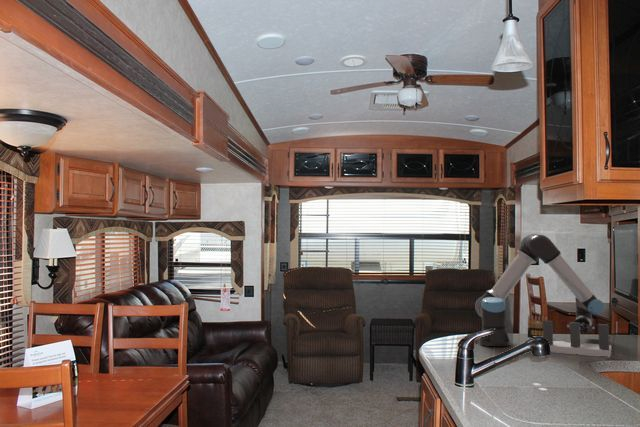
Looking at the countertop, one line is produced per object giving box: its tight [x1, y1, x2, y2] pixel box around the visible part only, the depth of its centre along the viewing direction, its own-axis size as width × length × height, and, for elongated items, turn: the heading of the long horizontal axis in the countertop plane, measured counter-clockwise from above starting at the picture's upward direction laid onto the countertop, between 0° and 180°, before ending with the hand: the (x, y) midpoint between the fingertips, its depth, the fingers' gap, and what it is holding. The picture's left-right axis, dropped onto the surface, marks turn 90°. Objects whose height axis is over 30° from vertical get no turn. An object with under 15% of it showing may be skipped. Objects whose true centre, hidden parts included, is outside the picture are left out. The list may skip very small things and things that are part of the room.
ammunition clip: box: [527, 314, 549, 338], centre depth 293 cm, size 11×2×12 cm, turn 58°
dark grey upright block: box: [569, 321, 581, 347], centre depth 256 cm, size 2×4×11 cm, turn 60°
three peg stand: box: [543, 319, 613, 358], centre depth 259 cm, size 13×29×14 cm, turn 60°
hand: (577, 332), depth 259 cm, fingers closed
